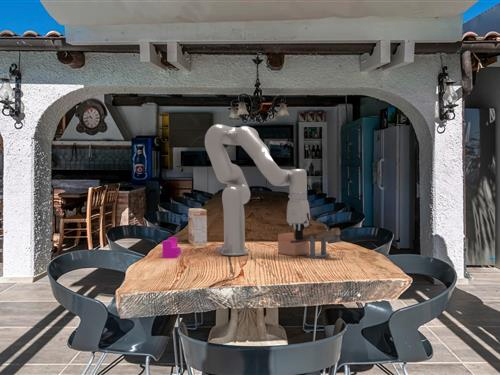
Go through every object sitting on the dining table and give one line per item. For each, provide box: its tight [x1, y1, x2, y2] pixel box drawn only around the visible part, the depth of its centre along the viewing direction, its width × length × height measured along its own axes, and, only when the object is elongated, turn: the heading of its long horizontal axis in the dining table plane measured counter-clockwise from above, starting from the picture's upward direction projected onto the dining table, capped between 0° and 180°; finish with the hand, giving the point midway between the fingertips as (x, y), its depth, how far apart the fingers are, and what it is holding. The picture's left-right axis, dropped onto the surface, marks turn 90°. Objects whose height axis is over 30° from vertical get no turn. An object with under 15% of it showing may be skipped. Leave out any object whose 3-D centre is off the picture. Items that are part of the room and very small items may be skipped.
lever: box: [290, 227, 342, 244], centre depth 204 cm, size 13×20×6 cm, turn 44°
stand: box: [305, 236, 331, 260], centre depth 206 cm, size 10×5×10 cm, turn 134°
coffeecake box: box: [187, 207, 208, 247], centre depth 244 cm, size 15×7×20 cm, turn 17°
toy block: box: [162, 237, 182, 259], centre depth 214 cm, size 15×6×8 cm, turn 178°
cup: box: [277, 232, 310, 257], centre depth 217 cm, size 10×10×9 cm
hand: (299, 239), depth 206 cm, fingers closed
